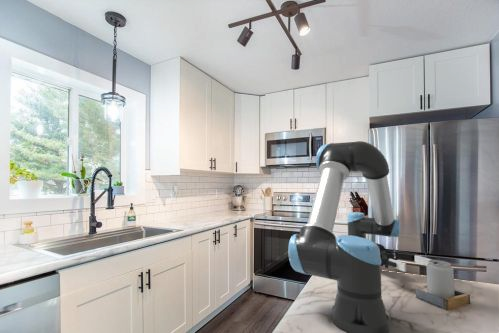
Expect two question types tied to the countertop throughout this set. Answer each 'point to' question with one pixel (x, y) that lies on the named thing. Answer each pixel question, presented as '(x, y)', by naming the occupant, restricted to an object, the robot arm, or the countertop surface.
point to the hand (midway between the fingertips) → (418, 265)
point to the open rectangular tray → (446, 304)
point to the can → (440, 279)
